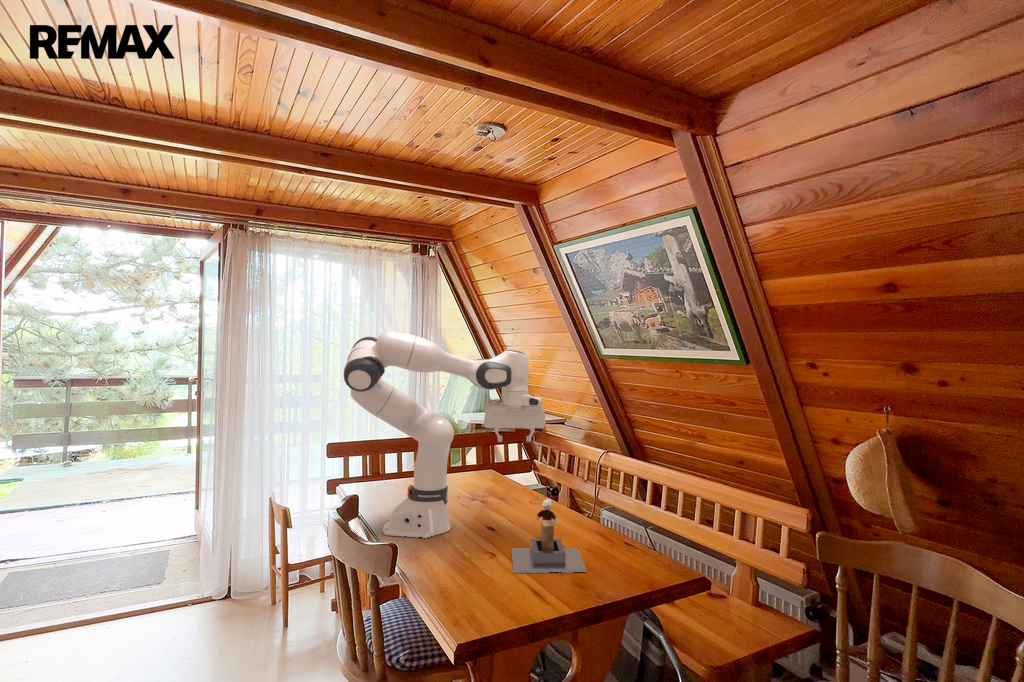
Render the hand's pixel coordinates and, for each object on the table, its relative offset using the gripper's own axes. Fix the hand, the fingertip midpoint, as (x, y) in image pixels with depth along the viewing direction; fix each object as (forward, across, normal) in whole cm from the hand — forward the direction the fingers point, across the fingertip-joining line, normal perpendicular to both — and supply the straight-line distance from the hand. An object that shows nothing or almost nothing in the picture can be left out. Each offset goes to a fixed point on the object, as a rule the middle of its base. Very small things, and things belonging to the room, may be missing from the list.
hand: (514, 441), depth 175 cm
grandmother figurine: (+31, +11, -1) cm, 33 cm away
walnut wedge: (+30, +9, -20) cm, 37 cm away
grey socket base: (+31, +9, -20) cm, 38 cm away
